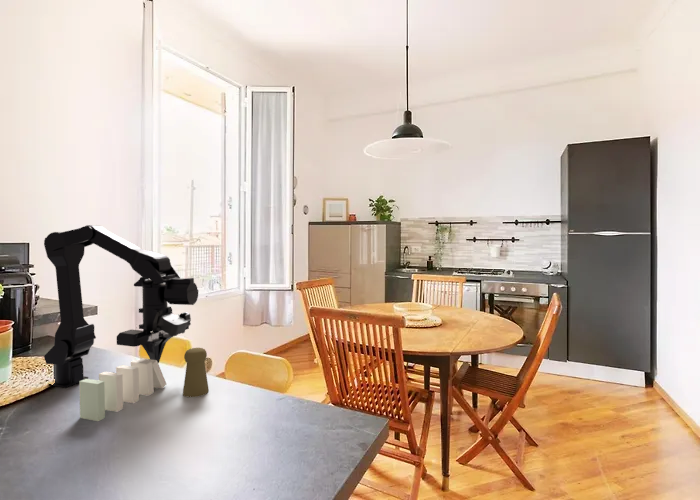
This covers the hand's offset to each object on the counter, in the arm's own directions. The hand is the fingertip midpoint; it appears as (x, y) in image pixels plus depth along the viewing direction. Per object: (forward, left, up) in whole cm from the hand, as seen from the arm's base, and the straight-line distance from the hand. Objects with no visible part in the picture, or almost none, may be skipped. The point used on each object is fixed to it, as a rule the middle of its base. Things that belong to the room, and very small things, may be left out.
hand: (155, 363), depth 100 cm
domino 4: (0, 0, -6) cm, 6 cm away
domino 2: (0, -9, -6) cm, 11 cm away
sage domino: (0, -18, -6) cm, 19 cm away
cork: (+12, 0, -6) cm, 14 cm away
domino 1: (0, -13, -6) cm, 15 cm away
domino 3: (0, -4, -6) cm, 7 cm away
